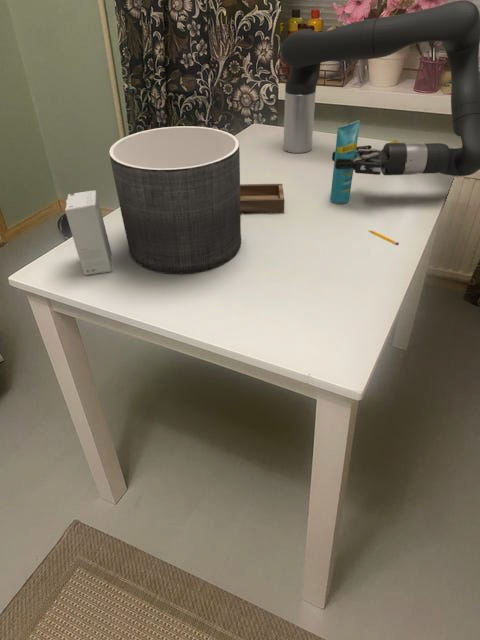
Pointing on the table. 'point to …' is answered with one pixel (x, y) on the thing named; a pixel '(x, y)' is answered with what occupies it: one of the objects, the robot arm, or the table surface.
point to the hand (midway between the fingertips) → (334, 160)
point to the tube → (344, 150)
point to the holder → (261, 198)
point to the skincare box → (89, 232)
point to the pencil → (384, 237)
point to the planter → (179, 197)
